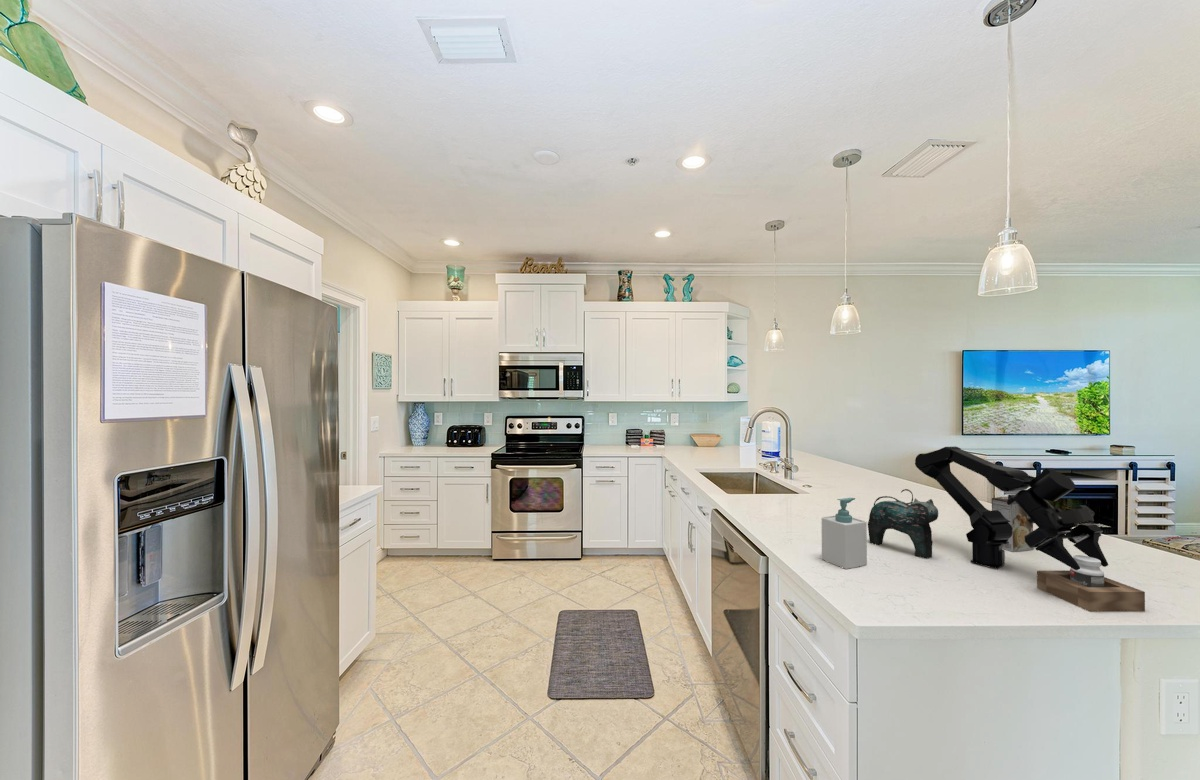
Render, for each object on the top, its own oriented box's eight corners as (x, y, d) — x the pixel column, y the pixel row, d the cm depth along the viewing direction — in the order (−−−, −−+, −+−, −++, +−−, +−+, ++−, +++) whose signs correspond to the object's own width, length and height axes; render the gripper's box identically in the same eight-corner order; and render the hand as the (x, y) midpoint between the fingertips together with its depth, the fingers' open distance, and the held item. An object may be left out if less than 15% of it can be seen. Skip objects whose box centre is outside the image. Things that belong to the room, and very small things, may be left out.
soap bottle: (867, 565, 135) (867, 500, 135) (845, 569, 132) (845, 503, 132) (842, 555, 143) (842, 494, 143) (821, 559, 140) (820, 496, 140)
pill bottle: (1063, 593, 116) (1063, 554, 116) (1086, 593, 116) (1086, 554, 116) (1087, 604, 110) (1087, 562, 110) (1111, 604, 110) (1111, 562, 110)
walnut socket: (1089, 611, 106) (1089, 591, 106) (1037, 587, 119) (1036, 570, 119) (1145, 611, 106) (1144, 591, 106) (1086, 587, 119) (1086, 570, 119)
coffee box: (1011, 543, 154) (1011, 495, 154) (1034, 549, 148) (1033, 499, 148) (991, 546, 151) (991, 497, 151) (1013, 552, 145) (1013, 501, 145)
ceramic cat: (940, 558, 140) (939, 493, 141) (928, 562, 137) (928, 495, 138) (875, 540, 158) (874, 482, 158) (863, 543, 155) (863, 483, 155)
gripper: (1037, 496, 115) (1093, 555, 104) (1092, 492, 119) (1152, 549, 108) (1003, 519, 123) (1052, 576, 112) (1056, 514, 127) (1109, 569, 116)
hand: (1092, 567), depth 112 cm, fingers open, 9 cm apart
